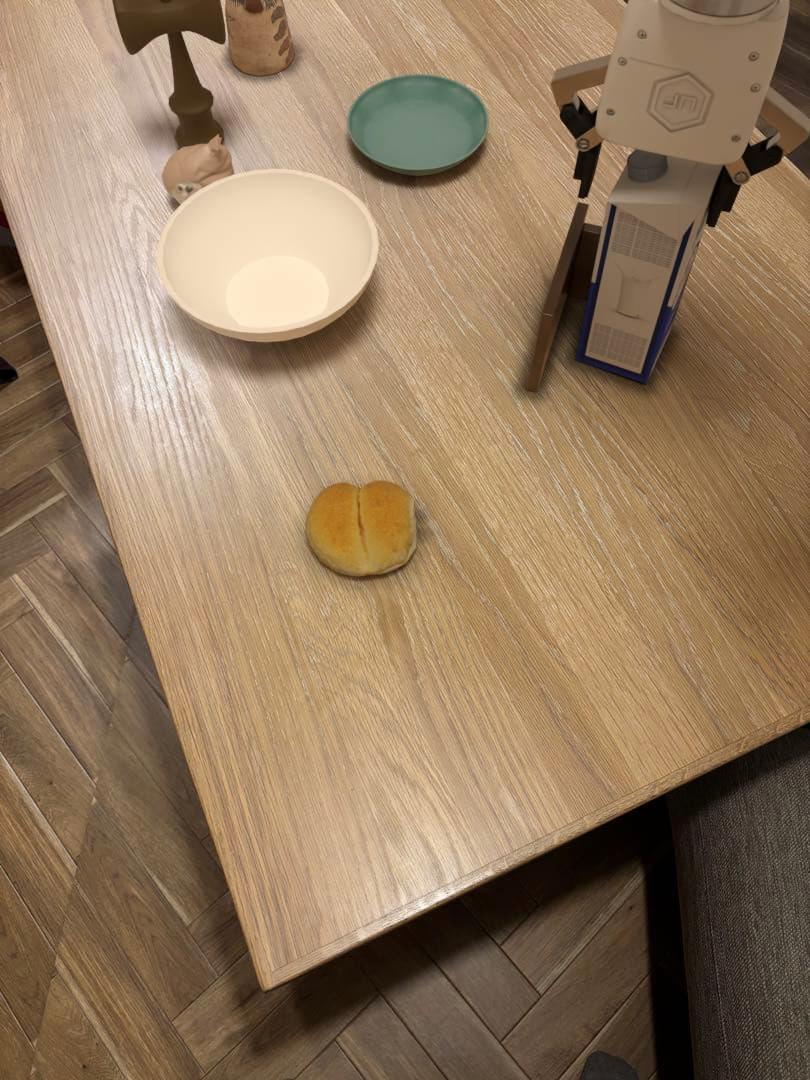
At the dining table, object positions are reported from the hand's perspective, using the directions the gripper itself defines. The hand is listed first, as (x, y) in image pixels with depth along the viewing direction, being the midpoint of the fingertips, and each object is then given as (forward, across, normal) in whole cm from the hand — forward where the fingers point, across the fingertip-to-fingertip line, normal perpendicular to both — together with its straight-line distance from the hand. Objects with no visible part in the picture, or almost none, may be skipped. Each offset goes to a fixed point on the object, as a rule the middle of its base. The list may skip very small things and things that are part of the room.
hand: (648, 200), depth 65 cm
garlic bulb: (+16, -43, +6) cm, 46 cm away
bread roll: (+17, -15, -25) cm, 34 cm away
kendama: (+16, -47, +14) cm, 51 cm away
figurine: (+16, -46, +29) cm, 56 cm away
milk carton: (+16, +2, 0) cm, 16 cm away
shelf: (+16, -1, -1) cm, 16 cm away
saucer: (+16, -25, +21) cm, 36 cm away
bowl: (+16, -31, -4) cm, 35 cm away
